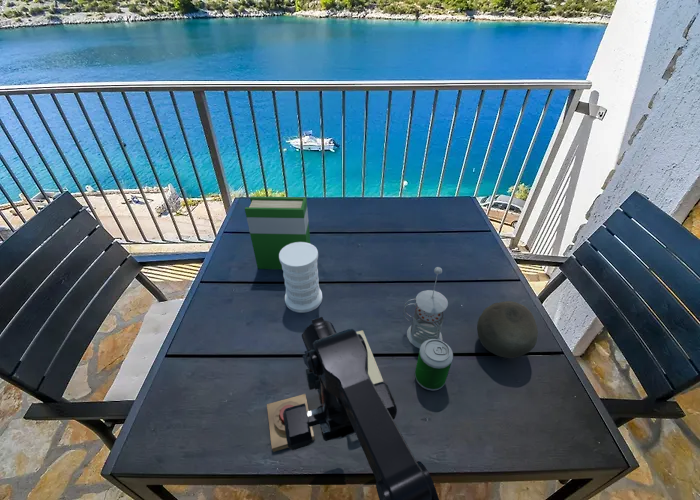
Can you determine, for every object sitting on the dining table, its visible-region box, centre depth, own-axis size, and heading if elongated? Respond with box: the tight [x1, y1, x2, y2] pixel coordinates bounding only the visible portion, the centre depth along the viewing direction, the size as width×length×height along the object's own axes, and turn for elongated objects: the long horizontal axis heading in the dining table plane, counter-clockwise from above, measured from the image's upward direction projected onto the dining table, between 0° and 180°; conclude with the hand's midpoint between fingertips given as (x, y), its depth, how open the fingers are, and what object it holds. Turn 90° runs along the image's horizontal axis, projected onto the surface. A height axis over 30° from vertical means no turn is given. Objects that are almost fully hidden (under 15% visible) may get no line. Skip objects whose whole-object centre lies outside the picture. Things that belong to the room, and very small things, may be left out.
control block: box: [266, 393, 316, 453], centre depth 77 cm, size 10×9×4 cm
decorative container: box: [279, 242, 323, 313], centre depth 103 cm, size 12×12×18 cm
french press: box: [402, 266, 449, 349], centre depth 90 cm, size 10×12×25 cm
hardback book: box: [244, 196, 312, 270], centre depth 114 cm, size 18×7×24 cm, turn 88°
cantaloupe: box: [476, 300, 539, 359], centre depth 89 cm, size 14×14×15 cm
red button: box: [280, 405, 293, 423], centre depth 76 cm, size 4×4×2 cm
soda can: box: [414, 339, 454, 392], centre depth 83 cm, size 8×8×12 cm
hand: (341, 435), depth 64 cm, fingers closed
